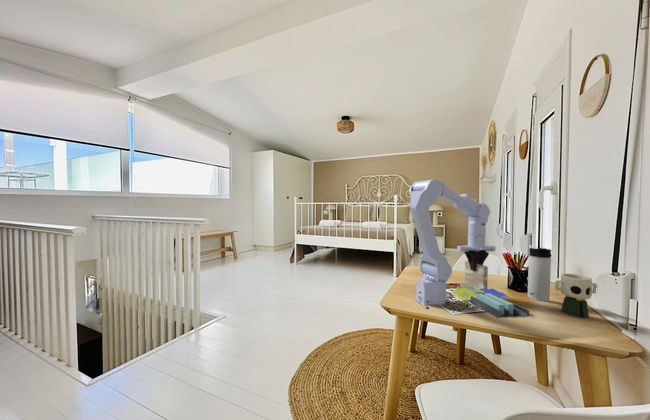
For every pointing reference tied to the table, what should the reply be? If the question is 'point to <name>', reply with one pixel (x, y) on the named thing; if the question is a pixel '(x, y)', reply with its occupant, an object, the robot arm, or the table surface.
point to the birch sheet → (476, 275)
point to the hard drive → (494, 292)
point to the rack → (517, 311)
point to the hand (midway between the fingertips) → (475, 270)
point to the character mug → (575, 293)
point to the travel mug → (539, 274)
